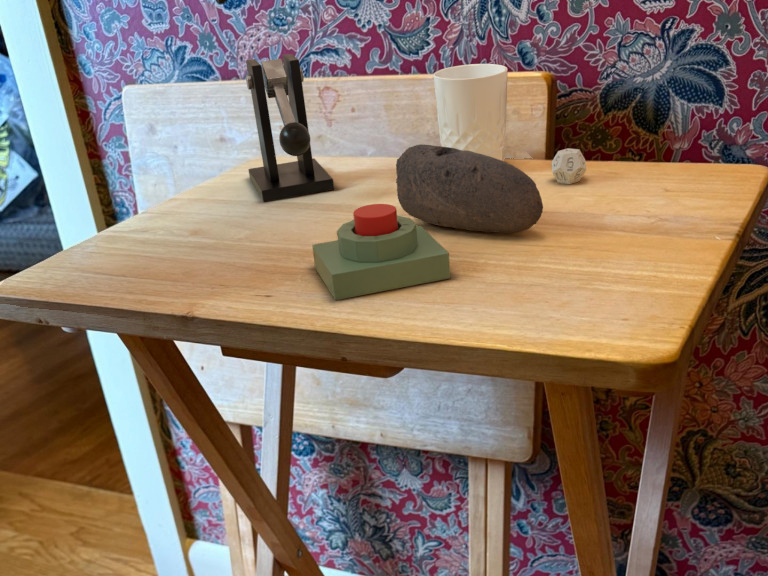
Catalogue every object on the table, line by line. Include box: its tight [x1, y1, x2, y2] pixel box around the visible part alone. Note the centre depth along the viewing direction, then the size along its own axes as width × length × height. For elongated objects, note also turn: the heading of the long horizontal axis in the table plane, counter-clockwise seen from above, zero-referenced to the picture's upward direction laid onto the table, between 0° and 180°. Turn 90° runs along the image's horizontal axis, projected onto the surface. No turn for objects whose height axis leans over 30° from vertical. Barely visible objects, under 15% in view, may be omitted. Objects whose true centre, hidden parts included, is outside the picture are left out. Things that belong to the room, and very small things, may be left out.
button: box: [352, 203, 398, 236], centre depth 74 cm, size 4×4×2 cm
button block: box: [311, 214, 451, 301], centre depth 76 cm, size 10×8×4 cm
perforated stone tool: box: [395, 144, 544, 234], centre depth 82 cm, size 15×5×7 cm, turn 51°
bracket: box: [245, 53, 335, 203], centre depth 98 cm, size 10×8×13 cm
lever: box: [260, 58, 311, 157], centre depth 93 cm, size 12×3×3 cm, turn 16°
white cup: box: [432, 63, 509, 162], centre depth 97 cm, size 8×8×10 cm
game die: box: [550, 147, 587, 185], centre depth 93 cm, size 4×4×3 cm
